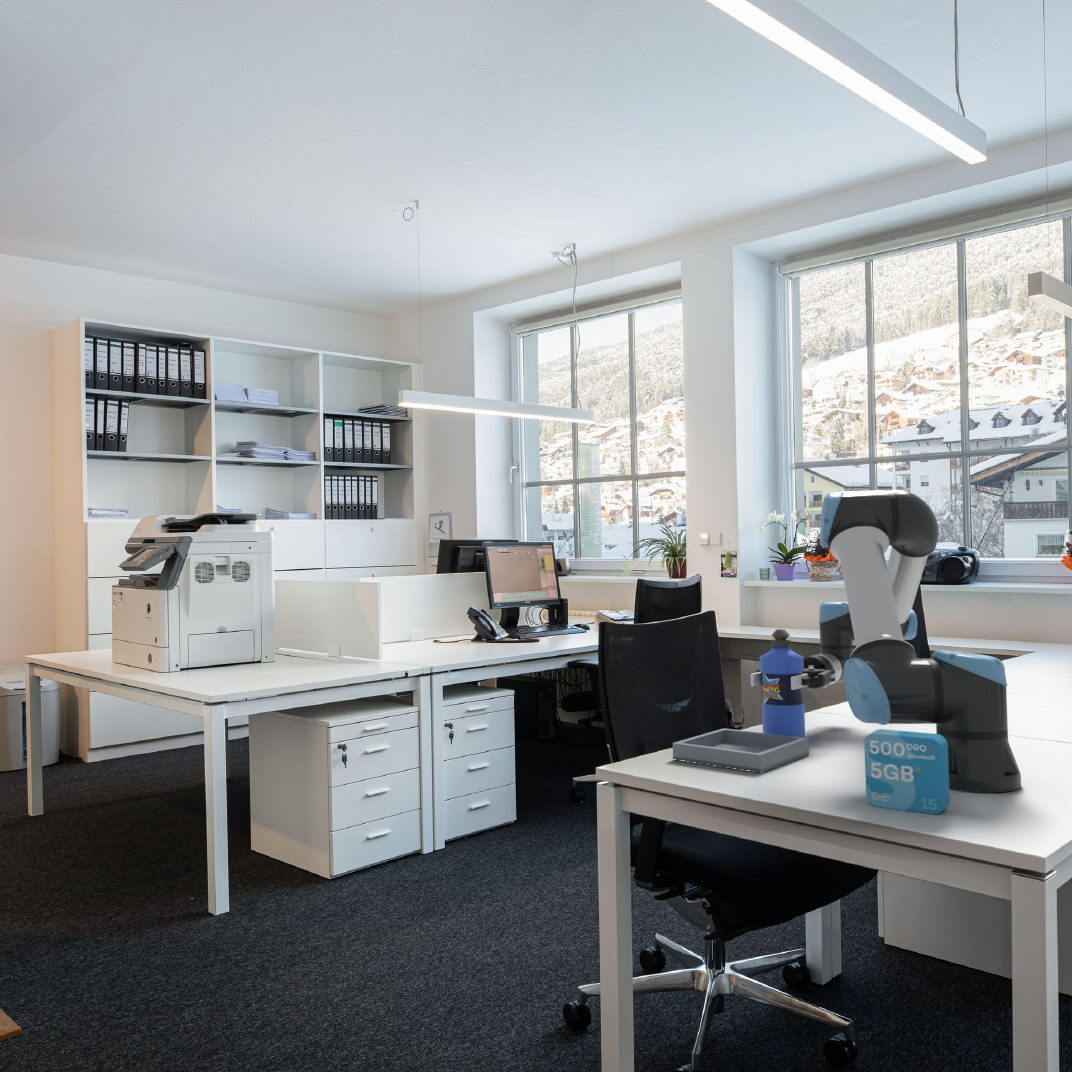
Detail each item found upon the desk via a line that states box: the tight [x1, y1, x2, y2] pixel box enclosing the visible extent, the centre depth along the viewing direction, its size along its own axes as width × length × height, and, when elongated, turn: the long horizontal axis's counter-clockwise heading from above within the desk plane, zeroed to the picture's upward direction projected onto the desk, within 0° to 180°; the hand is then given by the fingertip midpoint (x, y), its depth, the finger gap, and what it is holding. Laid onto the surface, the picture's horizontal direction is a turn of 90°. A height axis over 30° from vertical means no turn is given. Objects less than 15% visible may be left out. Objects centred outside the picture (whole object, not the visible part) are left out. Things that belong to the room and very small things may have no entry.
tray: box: [672, 727, 810, 774], centre depth 190 cm, size 20×20×4 cm
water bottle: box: [759, 628, 806, 738], centre depth 204 cm, size 9×9×25 cm
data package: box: [863, 728, 951, 815], centre depth 151 cm, size 12×4×12 cm, turn 54°
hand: (772, 681), depth 201 cm, fingers closed on water bottle, 9 cm apart
